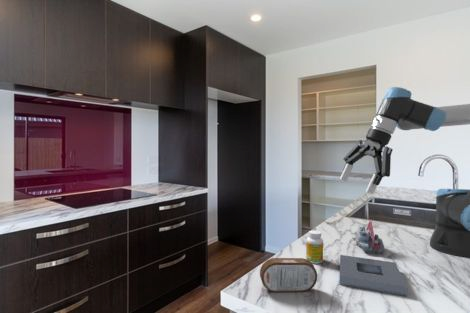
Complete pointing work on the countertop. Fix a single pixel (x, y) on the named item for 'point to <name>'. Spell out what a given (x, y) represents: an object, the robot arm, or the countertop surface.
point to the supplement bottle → (314, 247)
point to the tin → (288, 275)
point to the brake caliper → (368, 240)
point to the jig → (372, 275)
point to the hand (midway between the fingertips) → (355, 186)
